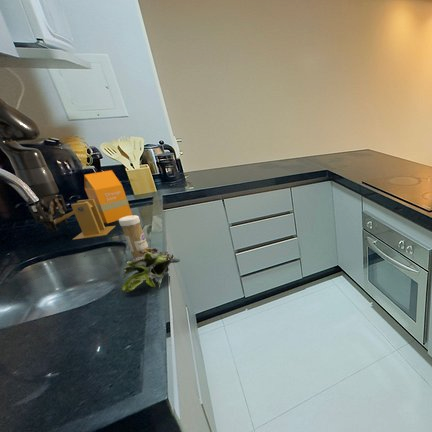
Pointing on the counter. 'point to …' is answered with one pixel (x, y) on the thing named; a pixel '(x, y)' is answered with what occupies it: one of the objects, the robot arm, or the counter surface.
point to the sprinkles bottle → (134, 235)
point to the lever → (66, 216)
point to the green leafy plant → (147, 268)
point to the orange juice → (107, 195)
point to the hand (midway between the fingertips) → (58, 228)
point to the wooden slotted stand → (89, 219)
